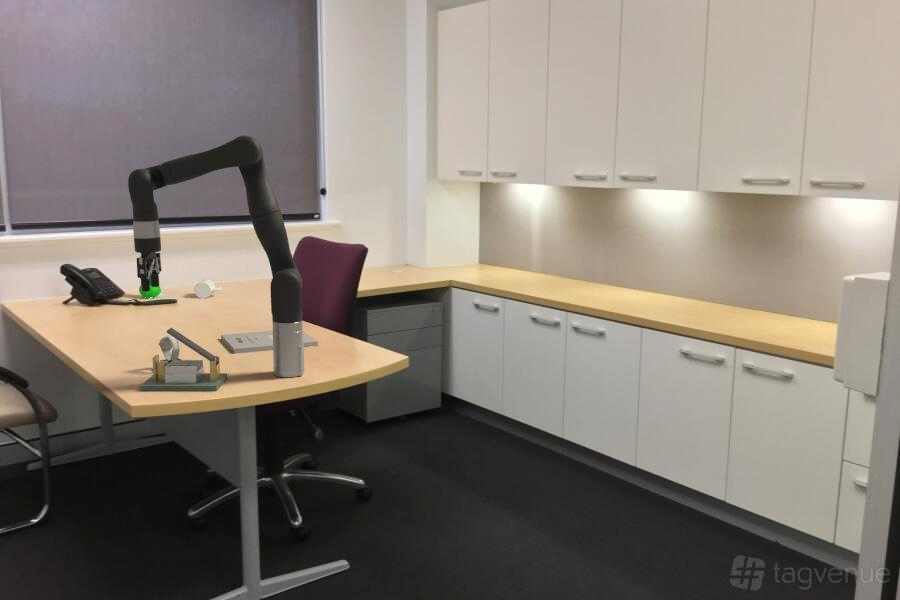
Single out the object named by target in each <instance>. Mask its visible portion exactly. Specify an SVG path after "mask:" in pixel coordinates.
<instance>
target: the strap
mask: <svg viewBox="0 0 900 600" xmlns="http://www.w3.org/2000/svg"><path fill="white" fill-rule="evenodd" d="M166 334H168V335H169V336H173V337H174V338H176V339H177V340H178V342H180V343H182V344H183V345H185V346H186V347H187V348H190V350H193V351H194V352H196V353H197V354H198V355H200V356H202V357H203V358H204V359H206V360H208V361H209V362H210V361H216V362H217V361H218V360H219V359H220V357H219V356H217V355H214V354H212V353H211V352H209V351H207V350H206V349H204V348H203V347H201V346H200V345H198V344H197V343H195V342H194V341H193V340H191V339H189V338H188V337H187V336H185V335H183V334H182V333H180V331H179V332H178V331H177V330H176V329H174V328H173V327H170V328H169V329H167V331H166ZM218 357H219V358H218Z"/></svg>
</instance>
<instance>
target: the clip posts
mask: <svg viewBox="0 0 900 600" xmlns="http://www.w3.org/2000/svg"><path fill="white" fill-rule="evenodd" d="M217 357H218V358H219V360H218V361H217V362H216V361H209V373H210V382H216V381H218V380H219V379H220V373H221V363H220V362H221V360H220V356H217ZM151 358H152V359H151V360H152V375H153V378H154V381H157V380H158V381H165V366H167V364H168V361H160V355H159V354H155V355H154V356H153V357H151Z"/></svg>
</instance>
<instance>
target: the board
mask: <svg viewBox="0 0 900 600" xmlns="http://www.w3.org/2000/svg"><path fill="white" fill-rule="evenodd" d="M228 378H229V377H228V373H227V372H226V373H221V372H220V379H219V380H218V381H216V382H210V372H209V373H208V372H207V373H205V372H204V376H203V377H202V378H201V379H200V380H199V381H198V382H197V383H196V384H165V381H158V380H157V381H154V378H153V374H152V375H151V376H150V377H149V378H148V379H146V380H145V381H144V382H142V384H141V385H139V391H141V392H145V391H146V392H217V391H218V390H219V389H220V387H221V386H222V385H223V384H224V383H225V382H226V381H227V379H228Z"/></svg>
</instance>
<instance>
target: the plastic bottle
mask: <svg viewBox="0 0 900 600" xmlns="http://www.w3.org/2000/svg"><path fill="white" fill-rule="evenodd" d="M138 258H141V256H140V257H138ZM143 274H144V273H143ZM149 281H150V291H148V292H143V291H142V284H141V283H140V286H139V288H138V293H139V294H140V295H141V296H142V297H143V298H145V297H146V298H145V299H147V298H150V297H156V296H157V297H158V296H159V295H160V293H161V291H162V288H161V286H160V285H159V287H152V285H151V273H150V277H149ZM157 297H156V298H157Z"/></svg>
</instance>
